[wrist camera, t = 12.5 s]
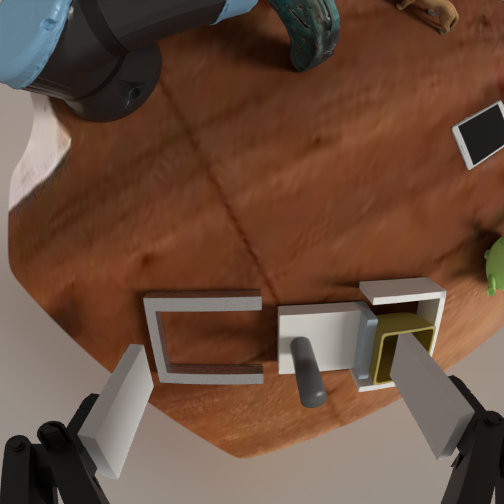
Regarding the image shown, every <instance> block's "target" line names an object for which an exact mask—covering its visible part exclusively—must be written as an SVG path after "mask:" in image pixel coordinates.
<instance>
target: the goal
mask: <svg viewBox="0 0 504 504" xmlns="http://www.w3.org/2000/svg"><path fill="white" fill-rule="evenodd" d="M359 288H360V290H361V291H362V292H363V293H364V295H365V296H366V297H367V298H368V299H369V301H370V302H371V303H372V304H373V305H378V304H389V303H399V302H409V301H419V303H418V309H417V314H416V315H418V316H420V317H422V318H423V319H425V320H427V321H428V322H430V323H431V324H433V325H434V326H436V331H435V336H434V340H433V344H432V348H431V352H430V355H431V357H432V354H433V350H434V346H435V342H436V338H437V334H438V330H439V326H440V322H441V317H442V312H443V308H444V303H445V297H446V292H447V291H446V290H445V289H443V288H442V287H441V286H439V285H438V284H436V283H435V282H434V281H432V280H431V279H429V278H428V277H423V278H409V279H395V280H380V281H364V282H360V284H359ZM349 371H350V373H351V376H352V378H353V380H354V383H355V385H356V387H357V389H358V392H363V391H370V390H376V389H382V388H388V387H394V386H396V385H395V384H394V382H391V383H386V384H381V385H373V383H372V380H371V377H370V374H368V378H365V379H358V378H357V375H356V373H355V371H354V369H353V368H349Z"/></svg>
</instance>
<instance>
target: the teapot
mask: <svg viewBox="0 0 504 504" xmlns="http://www.w3.org/2000/svg"><path fill="white" fill-rule="evenodd" d="M484 258H485V259H486V275H487V279H488V284H487V294H488V295H489V296H493V295H494V294H495V288H496V289H499V290H504V236H503V237H501V238H500V239H498V240H497V241H496V242H495V243H494V244H493V246H492V247H491V249H490V250H487V251H486V252H485V254H484Z"/></svg>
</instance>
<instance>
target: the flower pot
mask: <svg viewBox="0 0 504 504" xmlns="http://www.w3.org/2000/svg"><path fill="white" fill-rule="evenodd" d="M375 316H376V317H377V318H378V323H377V329H376V335H375V342H374V348H373V353H372V359H371V364H370V369H369V374H370V377H371V380H372V383H373V385H381V384H386V383H391V382H393V380H392V378H391V377H390V372H391V368H392V364H393V359H394V355H395V350H396V345H397V340H398V335H399V334H403V333H410V332H411V333H412V334H413V335H414V336H415V338H416V339H417V340H418V341H419V342H420V344H421V345H422V346H423V347H424V348H425V349H426V351H427V352H428V353H429V354H430V352H431V348H432V344H433V340H434V336H435V331H436V326H434V325H433V324H431V323H430V322H428V321H427V320H425V319H423V318H422V317H420V316H418V315H416V314H413V313H407V312H400V313H390V314H382V315H375Z"/></svg>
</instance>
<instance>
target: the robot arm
mask: <svg viewBox="0 0 504 504" xmlns="http://www.w3.org/2000/svg"><path fill="white" fill-rule="evenodd" d="M257 2H258V0H2V2H1V3H0V82H1V83H4V84H7V85H9V86H10V87H12V88H13V89H22V90H27V91H31V92H35V93H40V94H44V95H48V96H52V97H56V98H60V99H63V100H64V101H65V102H66V104H67V105H68V107H69V108H70V109H71V110H72V111H73V112H74V113H75V114H77V115H78V116H80V117H82V118H84V119H87V120H91V121H96V122H111V121H115V120H119V119H121V118H123V117H126V116H127V115H129V114H131V113H132V112H134V111H135V110H137V109H138V108H139V107H140V106H141V105H142V104H143V103H144V102H145V101H146V100H147V99H148V97H149V96H150V95H151V93H152V92H153V90H154V88H155V86H156V84H157V82H158V79H159V76H160V73H161V67H162V58H161V52H160V49H159V46H158V44H157V43H156V41H159V40H161V39H164V38H167V37H169V36H172V35H175V34H178V33H181V32H184V31H187V30H190V29H193V28H196V27H199V26H203V25H206V24H208V25H214V24H217V23H218V22H220V21H221V20H224V19H227V18H231V17H234V16H238V15H241V14H244V13H246V12H248V11H250V10H251V9H252V8H253V7H254V6H255V5H256V4H257ZM390 377H391V378H392V380H393V382H394V384H395V385H396V387H397V389H398V390H399V392H400V394H401V396H402V397H403V399H404V401H405V402H406V404H407V406H408V408H409V409H410V411H411V413H412V415H413V416H414V418H415V420H416V421H417V423H418V426H419V427H420V429H421V431H422V433H423V435H424V436H425V438H426V440H427V442H428V444H429V446H430V447H431V449H432V451H433V453H434V455H435V457H436V459H437V460H439V459H442V458H445V457H448V456H450V455H452V453H453V452H454V450H455V448H456V447H457V448H458V450H459V451H460V452H459V454H458V456H457V457H456V459H455V461H454V462H453V464H452V465H451V467H453V466H454V468H453V471H452V474H451V477H450V480H449V483H448V486H447V489H446V491H445V494H444V496H443V499H442V502H441V504H490V503H491V499H492V495H493V491H494V487H495V504H504V418H503V417H502V416H501V415H500V414H499V413H497V412H494V411H486V410H485V409H484V407H483V406H482V405H481V404H480V403H479V401H478V400H477V399H476V397H475V396H474V395H473V394H472V393H471V391H470V390H469V389H468V388H467V387H466V385H465V384H464V383H463V382H462V380H460V379H459V378H457V377H455V376H454V375H452V376H447V375H446V374H445V373H444V371H443V370H442V369H441V368H440V366H439V365H438V364H437V363H436V362H435V360H434V359H433V358H432V357H431V355H430V354H429V353H428V352H427V351H426V349H425V348H424V347H423V346H422V345H421V344H420V342H419V341H418V340H417V339H416V338H415V336H414V335H413V334H412V333H411V332H410V333H403V334H399V335H398V340H397V345H396V350H395V355H394V359H393V364H392V368H391V372H390ZM153 387H154V386H153V382H152V378H151V374H150V370H149V366H148V362H147V357H146V353H145V349H144V345H136V344H130V345H129V347H128V348H127V350H126V352H125V353H124V355H123V357H122V358H121V360H120V362H119V363H118V365H117V366H116V368H115V370H114V371H113V373H112V375H111V377H110V378H109V380H108V382H107V383H106V385H105V387H104V389H103V390H102V392H101V394H100V395H99V394H90V395H89V396H88V397H86V398H85V399H84V400H83V401H82V403H81V405H80V406H79V409H78V410H77V411H76V414H75V415H74V416H73V418H72V419H71V421H70V423H69V425H68V426H67V428H66V427H65V426H64V424H62V423H61V422H58V421H49V422H47V423H44V424H43V425H42V426H40V428H39V429H38V431H37V437H38V439H39V440H40V442H41V444H31V442H30V441H29V439H28V438H27V437H25V436H23V435H17V436H13V437H11V438H10V439H9V440H8V441H7V443H6V445H5V450H4V459H3V467H2V477H1V490H0V504H58V495H57V487H58V490H59V492H60V495H61V498H62V500H63V503H64V504H110V503H109V501H108V500H107V498H106V496H105V494H104V492H103V490H102V488H101V486H100V485H99V482H98V480H97V478H96V477H95V472H96V470H97V469H98V471H99V472H100V474H101V475H102V476H104V477H108V478H113V479H119V476H120V473H121V470H122V468H123V465H124V462H125V459H126V457H127V454H128V451H129V449H130V446H131V443H132V440H133V438H134V435H135V433H136V430H137V427H138V425H139V422H140V420H141V417H142V414H143V412H144V409H145V407H146V404H147V402H148V399H149V397H150V394H151V392H152V389H153Z"/></svg>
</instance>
